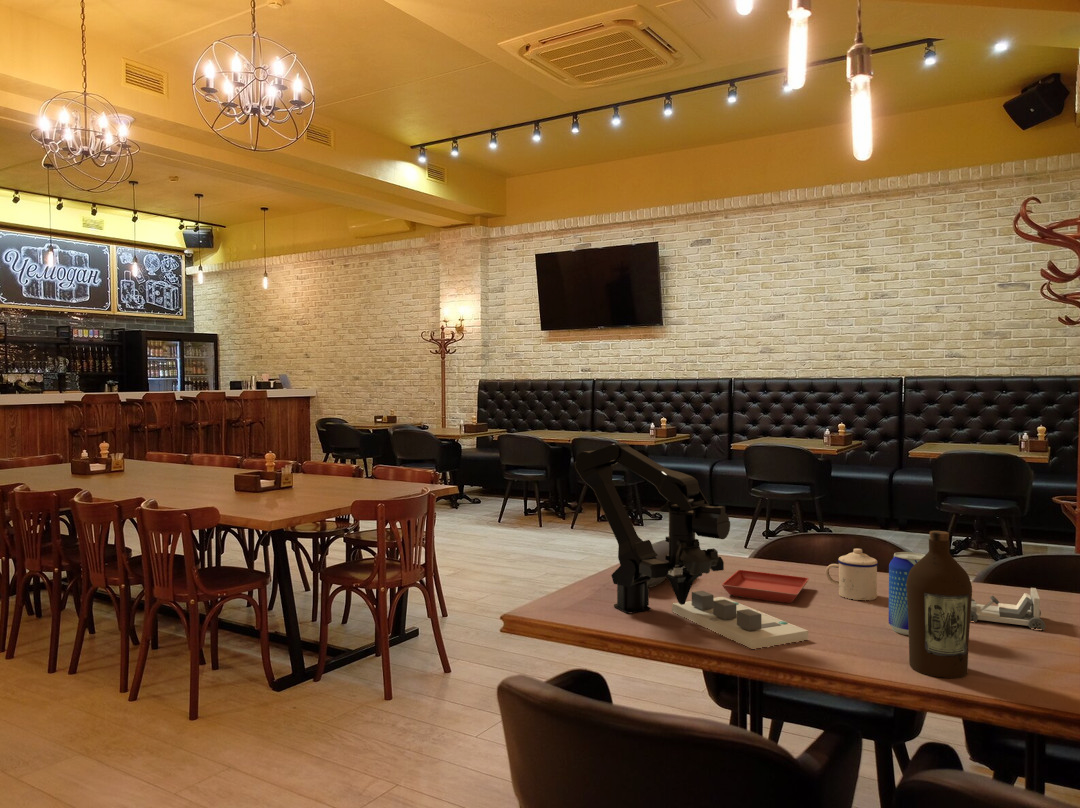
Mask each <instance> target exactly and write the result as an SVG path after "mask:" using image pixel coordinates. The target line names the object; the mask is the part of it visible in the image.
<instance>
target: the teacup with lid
mask: <svg viewBox="0 0 1080 808" xmlns="http://www.w3.org/2000/svg"><path fill="white" fill-rule="evenodd" d="M837 562H838V563H831V564H829V565H828V566H826V567H825V577H826V578H827V580H828V581H829V582H830V583H831V584H834V585H837V586H838V594H839V596H840V597H841V598H844V597H845V598H844V599H847V598H848V599H847V600H851V599H853V600H852V601H858V600H865V601H864V602H867V601H866V600H869V601H874V600H875V599H877V597H878V593H877V592H878V582H877V580H878V565H879V563H878V560H877V559H876V558H874V557H871V556H869V555H868V554H866V553H863V549H862V548H853V551H852V552H849V553H848V554H844V555H841V556H839V557H838V559H837ZM831 568H838V580H834V579H833V578H832V577H831V574H830V569H831Z"/></svg>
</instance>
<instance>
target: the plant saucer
mask: <svg viewBox="0 0 1080 808" xmlns="http://www.w3.org/2000/svg"><path fill="white" fill-rule="evenodd" d="M809 580H810V578H809V577H804V576H797V575H795V576H794V575H788V574H779V573H771V572H762V571H755V570H754V571H753V570H746V569H737V570H736V571H735V572H734V573H732V575H730V576H729V577H728V578H727V579H726V580H725V581H724V582H722V583H721V586H722V588H723V589H724V590H725V591H726V593H728V594H729V595H730V596H731V595H734V596H733V597H737V596H742V597H741V598H745V597H748V598H747V599H753V598H756V599H755V600H761V599H762V600H763V601H768V600H769V602H776V601H779V602H778V603H784V602H787V603H786V604H792V603H793V602H794V601H795V599H796V598H797V597H798V595H799V594H800V593H801V591H802V590H803V589H804V587H805V586H806V585H807V583H808V581H809ZM762 600H761V601H762Z"/></svg>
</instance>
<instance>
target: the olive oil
mask: <svg viewBox="0 0 1080 808" xmlns="http://www.w3.org/2000/svg"><path fill="white" fill-rule="evenodd" d="M949 537H950V533H949V532H948V531H944V530H943V531H941V530H930V531H929V538H928V552H927V553H926V554H924V555H925V556H924V557H923V558H922V559H921V560H919V561H918V562H917V563H916V564H915V565H914V566H913V567H912V568H911V570H910V571H909V574H908V577H907V582H906V587H907V606H908V629H909V635H908V657H909V659H908V660H909V667H910V668H911V669H913V670H914V671H915V672H918V673H919V674H924V675H926V674H927V676H929V677H935V676H936V678H941V677H944V678H943V679H957V677H959V678H962V676H963V677H965V676H967V674H968V669H969V667H968V665H969V642H970V627H971V622H970V614H971V601H972V599H973V585H972V580H971V578H970V576H969V574H968V572H967V571H966V570H965V568H963V566H962V565H960V563H958V561H957V560H956V559H955V558H954V557H953V556H952V554H951V553H950V544H951V543H950V542H951V541H950V539H949ZM970 580H971V581H970Z"/></svg>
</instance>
